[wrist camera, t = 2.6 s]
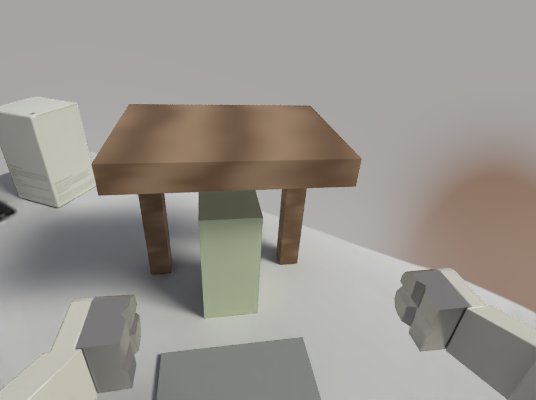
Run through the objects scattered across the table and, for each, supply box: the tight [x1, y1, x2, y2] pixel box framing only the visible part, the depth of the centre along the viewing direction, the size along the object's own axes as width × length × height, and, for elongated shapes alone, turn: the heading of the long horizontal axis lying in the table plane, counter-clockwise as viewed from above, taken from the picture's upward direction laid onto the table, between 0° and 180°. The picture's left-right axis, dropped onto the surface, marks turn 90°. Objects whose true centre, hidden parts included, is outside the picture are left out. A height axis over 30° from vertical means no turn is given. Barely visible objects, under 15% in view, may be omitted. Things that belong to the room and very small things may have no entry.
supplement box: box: [0, 96, 96, 208], centre depth 47 cm, size 7×7×13 cm
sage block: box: [199, 190, 263, 318], centre depth 32 cm, size 5×5×11 cm
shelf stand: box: [91, 104, 361, 274], centre depth 30 cm, size 16×12×18 cm
